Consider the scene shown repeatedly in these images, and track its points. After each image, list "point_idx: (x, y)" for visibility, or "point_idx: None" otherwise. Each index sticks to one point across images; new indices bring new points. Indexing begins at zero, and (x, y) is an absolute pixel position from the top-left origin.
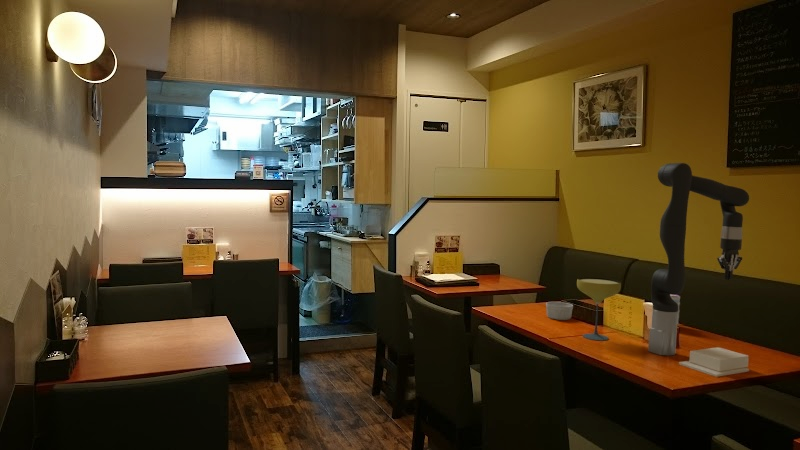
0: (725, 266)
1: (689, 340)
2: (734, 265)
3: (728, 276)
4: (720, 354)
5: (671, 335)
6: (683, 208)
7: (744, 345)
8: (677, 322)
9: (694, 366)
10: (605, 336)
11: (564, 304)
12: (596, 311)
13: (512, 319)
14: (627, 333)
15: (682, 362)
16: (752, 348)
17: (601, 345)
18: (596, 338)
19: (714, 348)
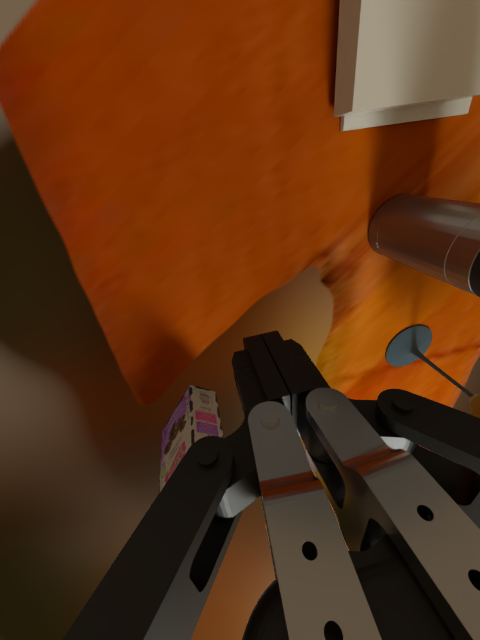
0: (469, 418)
1: (230, 312)
2: (270, 484)
3: (297, 352)
4: (442, 9)
5: (453, 200)
6: None
7: (95, 248)
8: (193, 400)
9: None
10: (395, 345)
11: None
12: (456, 382)
13: None
14: (322, 369)
15: (463, 107)
16: (91, 212)
17: (452, 296)
18: (425, 333)
19: (381, 98)
